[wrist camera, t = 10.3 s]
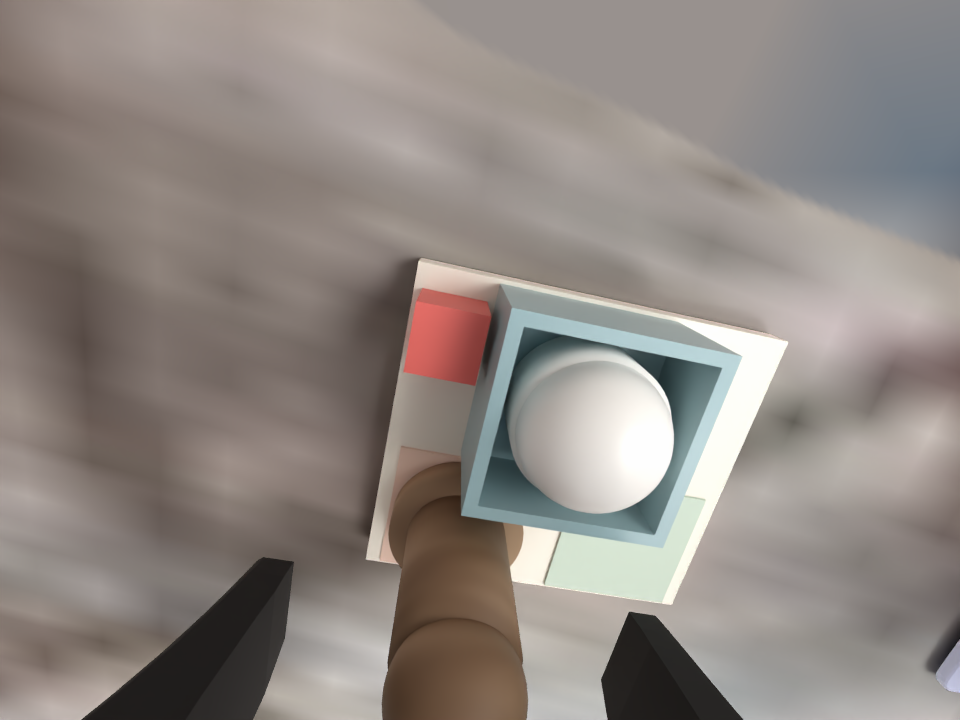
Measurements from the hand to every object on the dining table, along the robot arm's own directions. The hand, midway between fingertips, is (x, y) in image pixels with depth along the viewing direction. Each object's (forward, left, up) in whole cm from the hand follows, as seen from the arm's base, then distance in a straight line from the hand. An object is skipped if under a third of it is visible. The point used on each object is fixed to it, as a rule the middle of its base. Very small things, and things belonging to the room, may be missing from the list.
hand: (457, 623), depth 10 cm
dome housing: (-2, -4, -4) cm, 6 cm away
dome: (-2, -4, -3) cm, 5 cm away
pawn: (0, 0, -4) cm, 4 cm away
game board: (-2, -2, -4) cm, 6 cm away
